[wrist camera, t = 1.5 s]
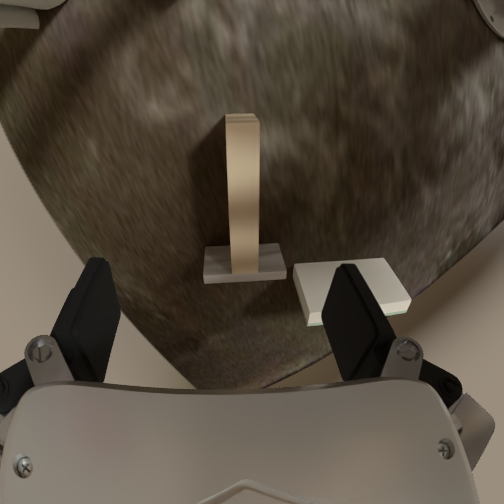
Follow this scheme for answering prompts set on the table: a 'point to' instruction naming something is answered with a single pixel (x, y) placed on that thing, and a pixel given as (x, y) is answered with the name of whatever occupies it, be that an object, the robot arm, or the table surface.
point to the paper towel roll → (23, 12)
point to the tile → (320, 278)
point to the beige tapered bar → (243, 213)
